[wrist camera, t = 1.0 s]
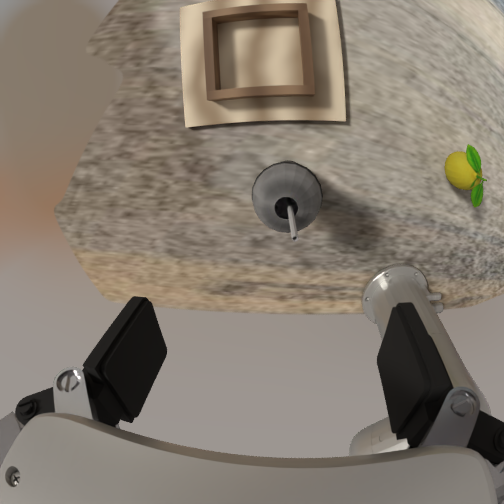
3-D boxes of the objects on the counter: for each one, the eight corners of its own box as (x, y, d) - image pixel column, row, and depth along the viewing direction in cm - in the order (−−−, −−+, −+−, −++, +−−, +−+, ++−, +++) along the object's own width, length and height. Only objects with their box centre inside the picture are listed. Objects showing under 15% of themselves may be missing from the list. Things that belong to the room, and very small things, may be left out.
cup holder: (333, -3, 25) (337, -14, 21) (344, 121, 33) (350, 121, 30) (182, 9, 28) (172, 1, 24) (188, 127, 37) (177, 128, 33)
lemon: (452, 194, 35) (486, 215, 26) (429, 172, 34) (462, 189, 25) (471, 161, 32) (508, 176, 23) (448, 138, 31) (485, 147, 22)
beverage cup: (291, 140, 36) (292, 157, 18) (324, 180, 38) (352, 235, 20) (252, 172, 39) (216, 219, 21) (284, 210, 40) (277, 285, 23)
